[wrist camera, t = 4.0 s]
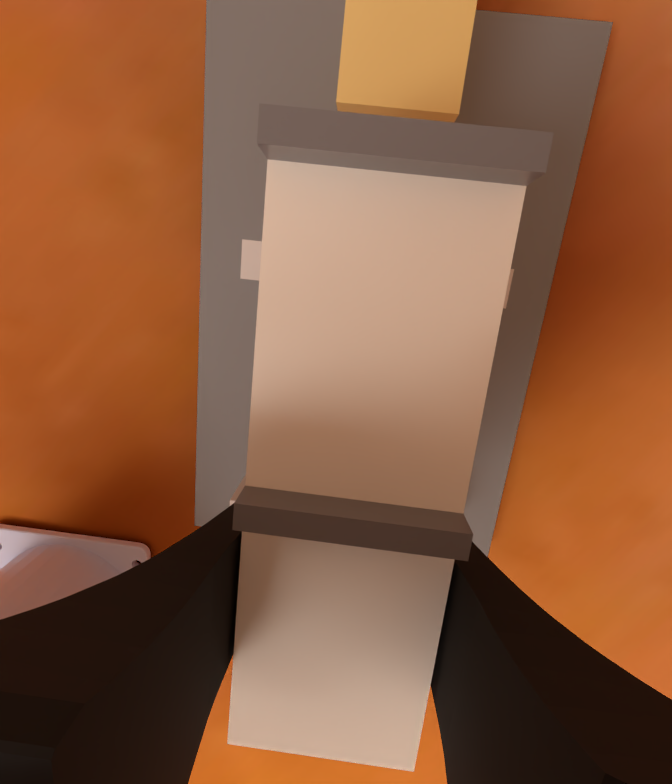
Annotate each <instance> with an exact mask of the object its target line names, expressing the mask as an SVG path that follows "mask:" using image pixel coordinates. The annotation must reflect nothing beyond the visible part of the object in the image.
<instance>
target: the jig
mask: <svg viewBox="0 0 672 784" xmlns="http://www.w3.org/2000/svg"><path fill="white" fill-rule="evenodd" d="M345 3H346V0H207V5H206V49H205V92H204V135H203V179H202V222H201V265H200V309H199V352H198V395H197V439H196V482H195V525H194V526H203V525H204V524H206V523H207V522H209V521H210V520H212V519H213V518H214V517H216V516H217V515H218V514H220V513H221V512H222V511H224V510H225V509H227V508H228V507H229V506H231V505H232V504H233V503H234V502H235V501H236V499H237V498H238V496H239V494H240V493H241V491H242V490H243V488H244V486H245V480H246V465H247V451H248V436H249V422H250V407H251V393H252V378H253V364H254V349H255V335H256V320H257V305H258V291H259V276H260V262H261V247H262V233H263V218H264V204H265V189H266V175H267V160H268V159H267V158H266V156H265V155H264V153H263V152H262V150H261V149H260V147H259V146H258V144H257V133H258V117H259V103H261V104H272V105H282V106H292V107H302V108H312V109H322V110H332V111H337V105H336V98H337V87H338V77H339V66H340V55H341V45H342V34H343V24H344V13H345ZM612 24H613V22H605V21H594V20H583V19H572V18H561V17H550V16H539V15H528V14H517V13H506V12H495V11H484V10H476V12H475V18H474V24H473V31H472V37H471V43H470V49H469V55H468V61H467V68H466V74H465V80H464V86H463V92H462V98H461V105H460V111H459V115H458V117H457V118H456V120H455V122H454V123H464V124H474V125H484V126H494V127H504V128H514V129H524V130H534V131H544V132H554V135H553V140H552V145H551V150H550V155H549V160H548V165H547V170H546V173H545V174H543V175H542V176H541V177H539V178H538V179H536V180H535V181H533V182H532V183H530V184H529V185H527V186H526V192H525V197H524V202H523V207H522V212H521V218H520V223H519V228H518V233H517V238H516V243H515V249H514V254H513V259H512V264H511V269H510V275H509V280H508V285H507V290H506V295H505V301H504V306H503V311H502V316H501V321H500V327H499V332H498V337H497V342H496V347H495V353H494V358H493V363H492V368H491V373H490V379H489V384H488V389H487V394H486V399H485V404H484V410H483V415H482V420H481V425H480V430H479V436H478V441H477V446H476V451H475V456H474V462H473V467H472V472H471V477H470V482H469V488H468V493H467V498H466V503H465V508H464V516H465V518H466V520H467V522H468V524H469V526H470V528H471V530H472V533H473V539H472V542H473V543H474V544H475V545H476V546H477V547H478V548H479V549H480V550H481V551H482V552H483V553H484V554H485V555H486V556H487V557H488V553H489V549H490V544H491V540H492V536H493V532H494V527H495V523H496V519H497V515H498V510H499V506H500V502H501V498H502V493H503V489H504V485H505V481H506V476H507V472H508V468H509V463H510V459H511V455H512V451H513V446H514V442H515V438H516V434H517V429H518V425H519V421H520V417H521V412H522V408H523V404H524V399H525V395H526V391H527V387H528V382H529V378H530V374H531V370H532V365H533V361H534V357H535V353H536V348H537V344H538V340H539V336H540V331H541V327H542V323H543V318H544V314H545V310H546V306H547V301H548V297H549V293H550V289H551V284H552V280H553V276H554V272H555V267H556V263H557V259H558V255H559V250H560V246H561V242H562V237H563V233H564V229H565V225H566V220H567V216H568V212H569V208H570V203H571V199H572V195H573V191H574V186H575V182H576V178H577V174H578V169H579V165H580V161H581V156H582V152H583V148H584V144H585V139H586V135H587V131H588V127H589V122H590V118H591V114H592V110H593V105H594V101H595V97H596V93H597V88H598V84H599V80H600V75H601V71H602V67H603V63H604V58H605V54H606V50H607V46H608V41H609V37H610V33H611V29H612Z"/></svg>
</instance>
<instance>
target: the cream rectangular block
mask: <svg viewBox="0 0 672 784" xmlns="http://www.w3.org/2000/svg"><path fill="white" fill-rule="evenodd" d="M553 135H554V132H544V131H534V130H524V129H514V128H504V127H494V126H484V125H474V124H464V123H454V122H443V121H433V120H423V119H413V118H403V117H393V116H383V115H373V114H363V113H352V112H342V111H332V110H322V109H312V108H302V107H292V106H282V105H272V104H261V103H259V117H258V133H257V144H258V146H259V147H260V149H261V150H262V152H263V153H264V155H265V156H266V158H267V159H268V160H267V175H266V189H265V204H264V218H263V233H262V247H261V262H260V276H259V291H258V305H257V320H256V335H255V349H254V364H253V378H252V393H251V407H250V422H249V436H248V451H247V465H246V480H245V486H244V488H243V490H242V491H241V493H240V494H239V496H238V498H237V499H236V501H235V502H234V512H233V527H232V530H235V531H242V538H241V552H240V567H239V582H238V596H237V611H236V625H235V640H234V654H233V669H232V683H231V698H230V712H229V727H228V741H227V744H232V745H238V746H245V747H252V748H258V749H265V750H272V751H278V752H285V753H292V754H299V755H305V756H312V757H319V758H325V759H332V760H339V761H346V762H352V763H359V764H366V765H372V766H379V767H386V768H392V769H399V770H406V771H413V772H414V768H415V763H416V758H417V752H418V747H419V742H420V737H421V732H422V727H423V721H424V716H425V711H426V706H427V701H428V695H429V690H430V685H431V680H432V675H433V669H434V664H435V659H436V654H437V649H438V643H439V638H440V633H441V628H442V623H443V617H444V612H445V607H446V602H447V597H448V591H449V586H450V581H451V576H452V571H453V566H454V560H462V561H468V559H469V554H470V549H471V544H472V539H473V533H472V530H471V528H470V526H469V524H468V522H467V520H466V518H465V516H464V508H465V503H466V498H467V493H468V488H469V482H470V477H471V472H472V467H473V462H474V456H475V451H476V446H477V441H478V436H479V430H480V425H481V420H482V415H483V410H484V404H485V399H486V394H487V389H488V384H489V379H490V373H491V368H492V363H493V358H494V353H495V347H496V342H497V337H498V332H499V327H500V321H501V316H502V311H503V306H504V301H505V295H506V290H507V285H508V280H509V275H510V269H511V264H512V259H513V254H514V249H515V243H516V238H517V233H518V228H519V223H520V218H521V212H522V207H523V202H524V197H525V192H526V186H527V185H529V184H530V183H532V182H533V181H535V180H536V179H538V178H539V177H541V176H542V175H543V174H545V173H546V170H547V165H548V160H549V155H550V150H551V145H552V140H553Z"/></svg>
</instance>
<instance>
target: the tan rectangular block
mask: <svg viewBox="0 0 672 784" xmlns="http://www.w3.org/2000/svg"><path fill="white" fill-rule="evenodd" d="M476 6H477V0H346V3H345V13H344V24H343V34H342V45H341V55H340V66H339V77H338V87H337V98H336V105H337V111H342V112H352V113H363V114H373V115H383V116H393V117H403V118H413V119H423V120H433V121H443V122H455V120H456V118H457V117H458V115H459V111H460V105H461V98H462V92H463V86H464V80H465V74H466V68H467V61H468V55H469V49H470V43H471V37H472V31H473V24H474V18H475V12H476Z"/></svg>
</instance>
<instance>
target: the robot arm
mask: <svg viewBox="0 0 672 784" xmlns="http://www.w3.org/2000/svg"><path fill="white" fill-rule="evenodd" d="M233 512H234V503H233V504H232V505H231V506H229V507H228V508H227V509H225V510H224V511H222V512H221V513H220V514H218V515H217V516H216V517H214V518H213V519H212V520H210V521H209V522H207V523H206V524H204V525H203V526H202V527H200V528H199V529H197V530H196V531H194V532H193V533H191V534H190V535H188V536H187V537H185V538H183V539H182V540H180V541H179V542H177V543H175V544H174V545H172V546H171V547H169V548H167V549H166V550H164V551H163V552H161V553H159V554H157V555H156V556H154V557H152V558H151V554H150V549H149V548H148V546H146V545H145V544H143V543H139V542H132V541H124V540H117V539H109V538H102V537H94V536H87V535H80V534H72V533H65V532H57V531H50V530H43V529H35V528H28V527H20V526H13V525H5V524H0V784H188V781H189V778H190V775H191V771H192V768H193V765H194V761H195V758H196V755H197V752H198V749H199V745H200V742H201V739H202V736H203V732H204V729H205V726H206V723H207V720H208V717H209V714H210V711H211V708H212V706H213V703H214V700H215V697H216V695H217V692H218V690H219V687H220V685H221V682H222V680H223V678H224V675H225V673H226V670H227V668H228V665H229V663H230V660H231V658H232V656H233V653H234V640H235V625H236V611H237V596H238V582H239V567H240V552H241V538H242V531H235V530H232V527H233ZM136 560H138V561H140V562H141V564H139V563H138V562H137V561H136ZM431 689H432V693H433V698H434V703H435V708H436V713H437V717H438V722H439V727H440V733H441V739H442V745H443V751H444V758H445V767H446V776H447V784H672V700H671V699H670V698H668V697H666V696H665V695H663V694H661V693H660V692H658V691H657V690H655V689H653V688H652V687H650V686H649V685H647V684H645V683H644V682H642V681H641V680H639V679H637V678H636V677H634V676H633V675H631V674H630V673H628V672H627V671H625V670H624V669H623V668H621V667H620V666H618V665H617V664H615V663H614V662H612V661H611V660H609V659H608V658H606V657H605V656H603V655H602V654H600V653H599V652H598V651H596V650H595V649H593V648H592V647H591V646H589V645H588V644H586V643H585V642H584V641H582V640H581V639H580V638H578V637H577V636H576V635H575V634H573V633H572V632H571V631H569V630H568V629H567V628H566V627H564V626H563V625H562V624H560V623H559V622H558V621H557V620H555V619H554V618H553V617H552V616H550V615H549V614H548V613H547V612H546V611H544V610H543V609H542V608H541V607H540V606H539V605H537V604H536V603H535V602H534V601H533V600H532V599H531V598H530V597H528V596H527V595H526V594H525V593H524V592H523V591H522V590H521V589H519V588H518V587H517V586H516V585H515V584H514V583H513V582H512V581H511V580H510V579H509V578H508V577H507V576H506V575H505V574H504V573H503V572H502V571H501V570H500V569H499V568H498V567H497V566H496V565H495V564H494V563H493V562H492V561H491V560H490V559H489V558H488V557H487V556H486V555H485V554H484V553H483V552H482V551H481V550H480V549H479V548H478V547H477V546H476V545H475V544H474V543H473V542H472V544H471V549H470V554H469V559H468V561H462V560H454V566H453V571H452V576H451V581H450V586H449V591H448V597H447V602H446V607H445V612H444V617H443V623H442V628H441V633H440V638H439V643H438V649H437V654H436V659H435V664H434V669H433V675H432V680H431Z"/></svg>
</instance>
